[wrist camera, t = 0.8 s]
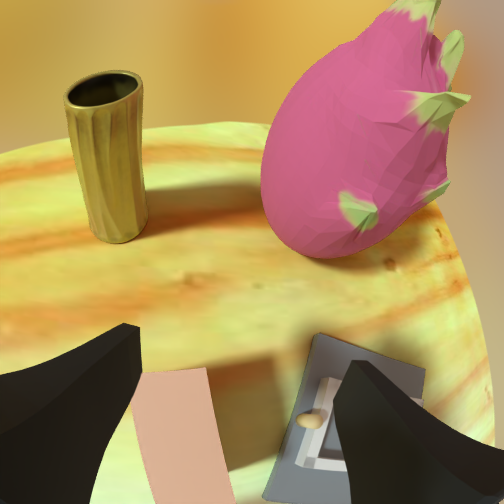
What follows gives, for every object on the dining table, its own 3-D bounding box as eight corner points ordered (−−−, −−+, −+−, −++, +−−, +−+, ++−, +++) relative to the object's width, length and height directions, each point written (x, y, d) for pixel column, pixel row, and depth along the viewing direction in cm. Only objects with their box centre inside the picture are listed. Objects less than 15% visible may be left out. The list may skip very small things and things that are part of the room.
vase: (155, 198, 27) (162, 70, 15) (138, 250, 24) (126, 117, 12) (102, 189, 26) (86, 66, 14) (80, 238, 22) (37, 112, 10)
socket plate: (388, 499, 17) (410, 504, 14) (261, 496, 16) (276, 510, 13) (419, 370, 26) (441, 364, 23) (314, 335, 25) (333, 325, 22)
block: (217, 474, 16) (236, 505, 10) (161, 480, 15) (159, 514, 9) (195, 373, 20) (205, 367, 14) (140, 378, 19) (126, 373, 13)
